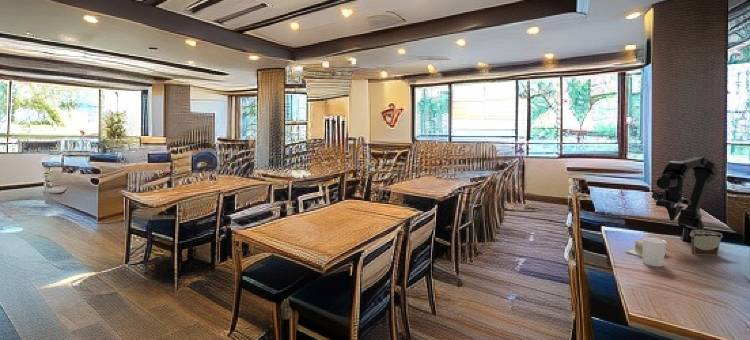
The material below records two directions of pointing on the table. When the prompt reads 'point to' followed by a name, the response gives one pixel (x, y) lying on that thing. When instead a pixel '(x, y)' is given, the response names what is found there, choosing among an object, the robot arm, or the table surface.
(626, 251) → the rubber mat
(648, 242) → the white cup
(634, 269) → the table surface
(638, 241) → the walnut block
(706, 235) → the food container
